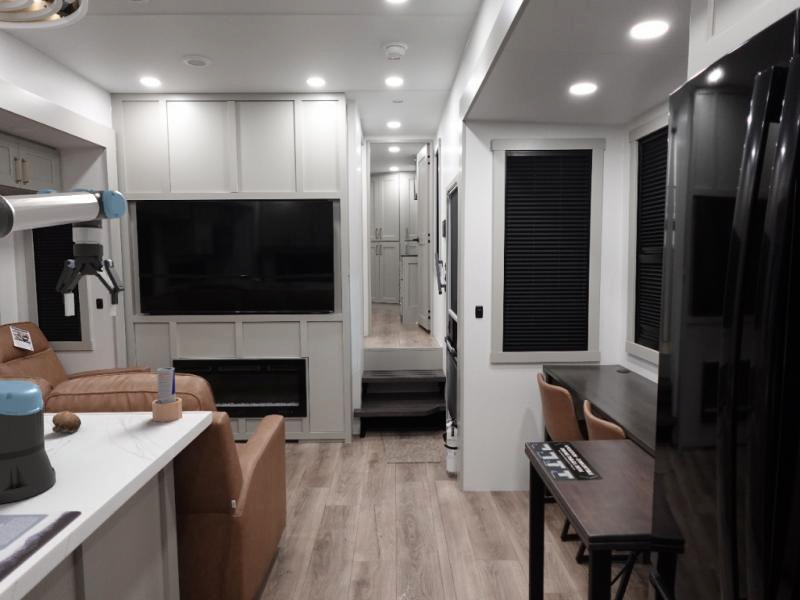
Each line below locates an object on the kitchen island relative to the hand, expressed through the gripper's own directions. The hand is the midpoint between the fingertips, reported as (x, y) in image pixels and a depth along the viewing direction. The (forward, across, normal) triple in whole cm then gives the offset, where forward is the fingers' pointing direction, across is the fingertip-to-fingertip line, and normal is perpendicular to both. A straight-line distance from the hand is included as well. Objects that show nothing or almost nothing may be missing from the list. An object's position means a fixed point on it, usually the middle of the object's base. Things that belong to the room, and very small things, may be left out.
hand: (91, 315), depth 153 cm
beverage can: (+33, -15, -14) cm, 39 cm away
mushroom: (+34, +7, +2) cm, 35 cm away
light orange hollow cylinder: (+34, -15, -14) cm, 40 cm away
